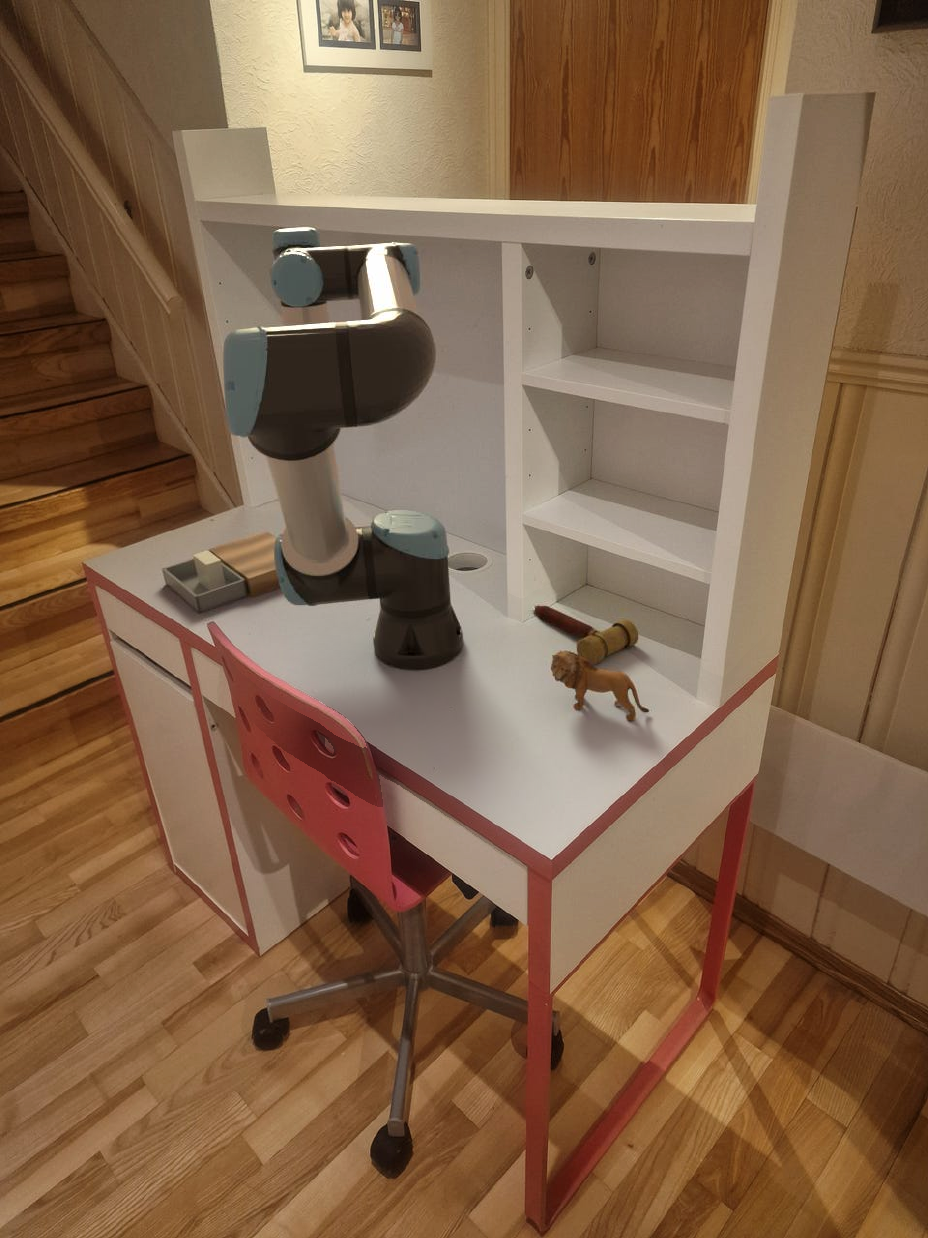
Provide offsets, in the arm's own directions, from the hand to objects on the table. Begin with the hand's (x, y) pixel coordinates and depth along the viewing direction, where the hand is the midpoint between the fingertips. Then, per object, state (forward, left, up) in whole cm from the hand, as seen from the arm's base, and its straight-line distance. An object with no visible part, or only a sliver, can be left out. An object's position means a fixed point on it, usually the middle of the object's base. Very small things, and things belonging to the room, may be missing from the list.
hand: (324, 466), depth 152 cm
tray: (+17, +20, -24) cm, 36 cm away
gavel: (-43, -20, -25) cm, 53 cm away
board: (+17, +8, -24) cm, 31 cm away
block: (+17, +17, -21) cm, 32 cm away
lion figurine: (-60, -7, -25) cm, 65 cm away
